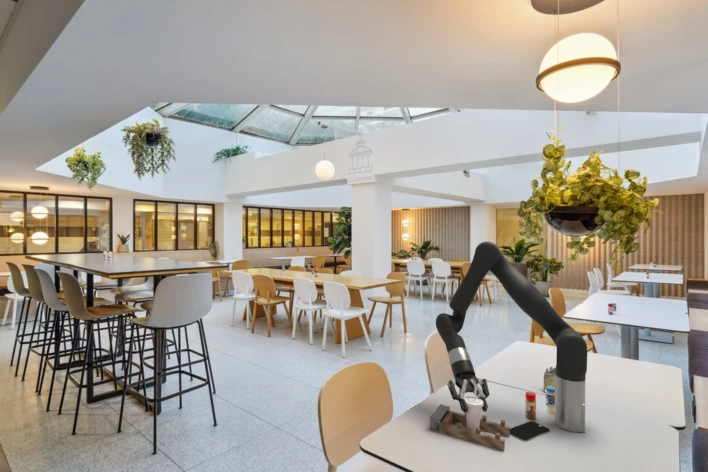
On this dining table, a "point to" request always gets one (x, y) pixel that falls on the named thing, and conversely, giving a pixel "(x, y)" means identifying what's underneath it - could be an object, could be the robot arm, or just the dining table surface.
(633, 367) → the dining table surface
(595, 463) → the dining table surface
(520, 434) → the smartphone
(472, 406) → the smoothie
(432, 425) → the block
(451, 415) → the brown pegged rack
